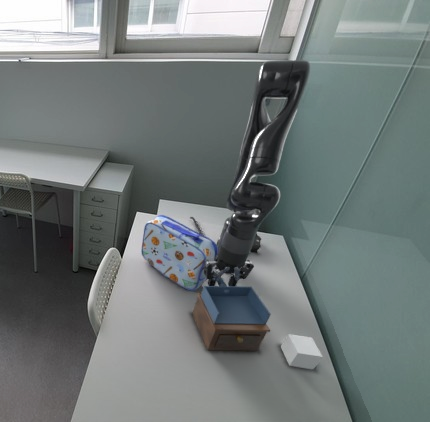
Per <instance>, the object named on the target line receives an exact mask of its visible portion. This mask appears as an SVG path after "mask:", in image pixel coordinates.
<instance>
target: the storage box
mask: <svg viewBox="0 0 430 422" xmlns="http://www.w3.org/2000/svg"><path fill="white" fill-rule="evenodd" d="M201 293H202V292H197V299H196V302H195V305H194V308H193V311H192V314H191V315H192V317H193V319H194V322H195V324H196V327H197V329H198V331H199V334H200V336H201V338H202V340H203V342H204V345H205V347H206V349H207V351H247V352H248V351H250V352H251V351H253V352H254V351H255V352H256V351H258V350H259V348H260V346H261V344H262V342H263V340H264V339H265V337H266V335H267V333H270V332H271V328H270V327H269V326H268V324H267V323H266V325H254V324H214V323H213V321H212V319H211V316H210V314H209V312H208V310H207V308H206V306H205V304H204V302H203V300H202V298H201ZM235 297H246V296H235Z"/></svg>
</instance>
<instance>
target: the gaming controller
mask: <svg viewBox="0 0 430 422" xmlns="http://www.w3.org/2000/svg"><path fill="white" fill-rule="evenodd" d="M261 241H262V238H261V236H260V235H258V232H257V233H256V235H255V238H254V242H253V246H252V248H251V250H250V253H252V254H258V251H259V250H260V249H261Z"/></svg>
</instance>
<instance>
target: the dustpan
mask: <svg viewBox="0 0 430 422" xmlns="http://www.w3.org/2000/svg"><path fill="white" fill-rule="evenodd" d="M212 270H213V269H212ZM214 275H215V274H214ZM216 283H217V285H215V286H209V285H203V288H202V289H201V292H200V293H201V298H202V300H203V302H204V304H205V306H206V308H207V310H208V312H209V314H210V316H211V319H212V321H213V323H214V324H254V325H266V324H267V323H268V321H269V319H270V317H271V315H272V313H271V312H270V310H269V309H268V308H267V306H266V305H265V303H264V302H263V301H262V299H261V298H260V297H259V295H258V293H257V292H256V291H255V289H254V288H253V286H247V285H246V286H243V285H241V286H239V285H236V286H228V284H226V282H225V280H224V279H223V277H222V276H221V277H218V278H217V279H216ZM235 296H246V297H235Z"/></svg>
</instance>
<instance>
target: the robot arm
mask: <svg viewBox="0 0 430 422" xmlns="http://www.w3.org/2000/svg"><path fill="white" fill-rule="evenodd" d="M310 74H311V64H310V62H309V61H308V60H301V59H296V60H295V59H294V60H288V59H287V60H268V61H264V62H263V63H262V65H261V66H260V67H259V70H258V73H257V75H256V79H255V83H254V84H255V85H254V90H253V91H254V92H253V96H252V101H251V102H252V103H251V107H250V113H249V117H248V122H247V125H246V129H245V131H244V132H245V133H244V136H243V139H242V142H241V147H240V151H239V157H238V161H237V165H236V170H235V174H234V178H233V181H232V184H231V186H230V189H229V192H228V196H227V199H226V209H227V210H229V211H230V212H233V213H232V214H231V216H229V217H227V218H226V219H225V220H224V223H223V227H222V230H221V232H220V236H219V238H217V242H216V245H217V247H218V254H217V256H218V257H217V258H216V259H215V261H209V260H205V263H204V274H205V276H206V278H207V282H206V283H207V286H216V283H217V281H216V279H217V278H218V277H222V276H224V274H231V275H230V277H229V280H228V282H227V286H237V285H238V282H239V281H240V280H243V281H244V280H247V278H248V276H249V275H250V274H251V272H252V270H253V269H254V268H255V265H254V264H253V263H252V261H251V260H250V259H248V258H249V256H250V253H251V252H250V250H251V248H252V246H253V242H254V238H255V235H256V233H257V234H258V230H259V228H260V226H261V224H262V223H263V222H264V221H265V219H266V218H267V217H268V215H269V214H270V213H271V212H272V211H273V210H274V209H275V208H276V206H277V205H278V204H279V202H280V198H281V191H280V189H279V188H278V187H277V186H276V185H274V184H271V183H270V184H269V183H264V182H258V181H252V178H255V177H263V176H272V175H275V174H276V173H277V172H278V170H279V166H280V162H281V159H282V155H283V150H284V147H285V144H286V140H287V137H288V134H289V132H290V129H291V127H292V124H293V122H294V120H295V117H296V115H297V112H298V109H299V107H300V104H301V102H302V99H303V96H304V94H305V90H306V88H307V85H308V81H309V78H310ZM267 99H275V100H276V99H277V100H278V99H283V100H285V103H284V105H283V106H282V108H281V109H280V111H279V112H278V113H277V114H276V115H275V116H274V117H273V118H272V119H270V115H269V113H268V110H267V109H268V108H267V104H266V100H267ZM189 219H191V220H192V221H193V223H194V225H195V227H196V229H197V231H198V233H200V234H202V235H204V234H203V232H202V231H201V228H200V226H199V225H198V223H197V221H196V219H195V218H194V217H193V216H190V217H189ZM214 265H215V266H214ZM212 269H213V270H212ZM214 274H215V275H214Z"/></svg>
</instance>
